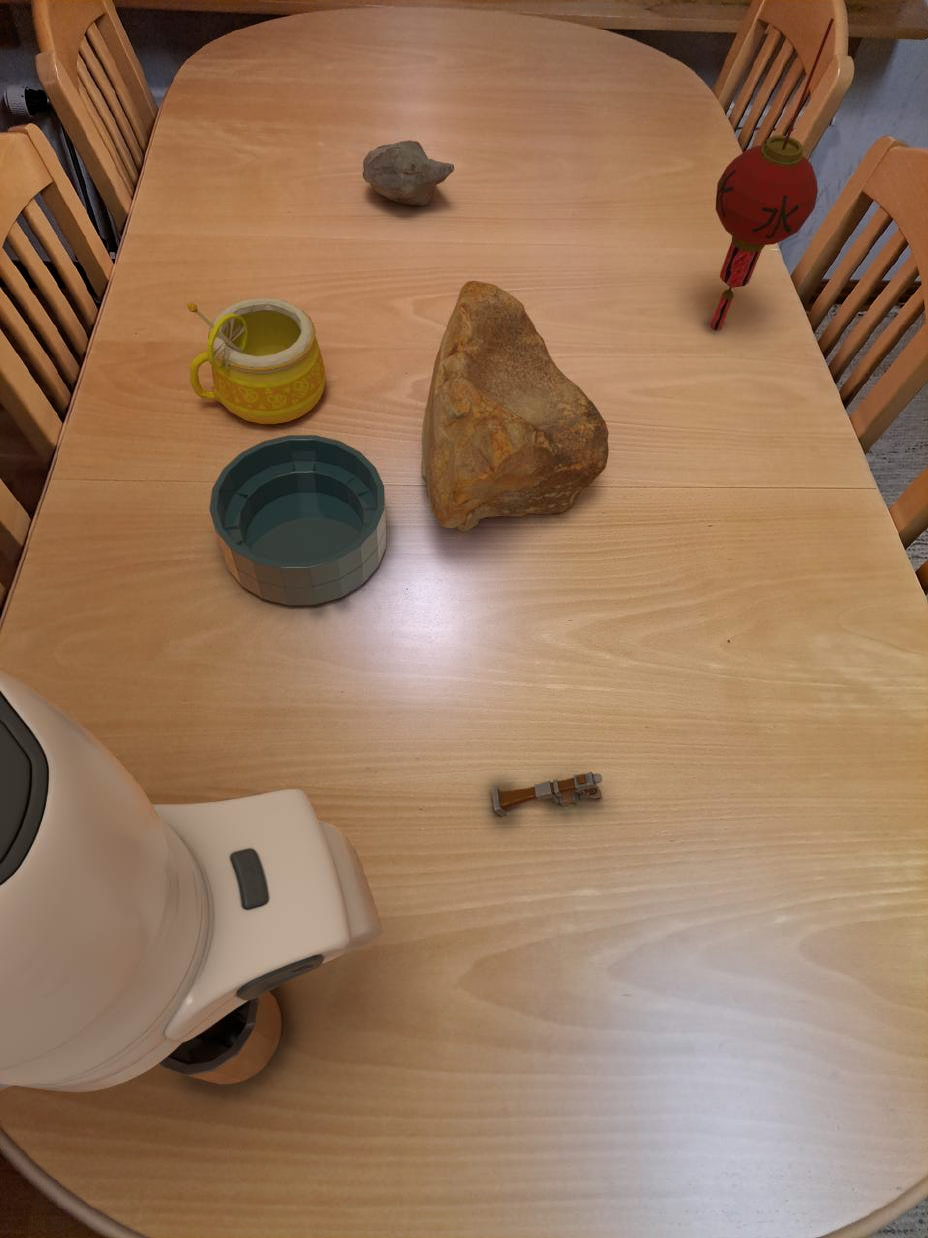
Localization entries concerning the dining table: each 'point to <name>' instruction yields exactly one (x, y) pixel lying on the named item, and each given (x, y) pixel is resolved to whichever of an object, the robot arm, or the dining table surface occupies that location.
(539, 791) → the wooden lamp post
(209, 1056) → the holder
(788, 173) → the lantern
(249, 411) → the mug
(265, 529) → the bowl
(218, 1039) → the stick
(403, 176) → the fossil
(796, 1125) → the dining table surface
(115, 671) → the dining table surface
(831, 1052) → the dining table surface
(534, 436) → the orange rock
